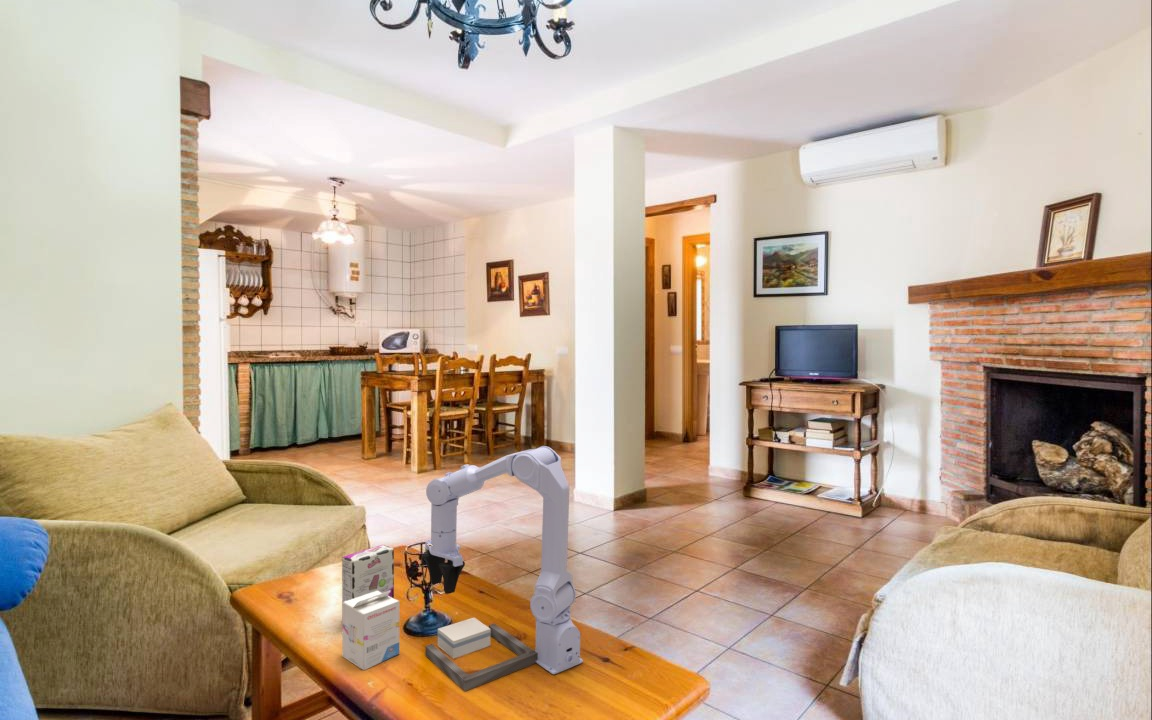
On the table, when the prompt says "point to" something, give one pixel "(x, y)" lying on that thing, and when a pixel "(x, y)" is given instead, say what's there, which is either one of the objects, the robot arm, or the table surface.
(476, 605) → the table surface
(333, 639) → the table surface
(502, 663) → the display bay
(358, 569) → the candy bar box
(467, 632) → the carton
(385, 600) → the ink box
